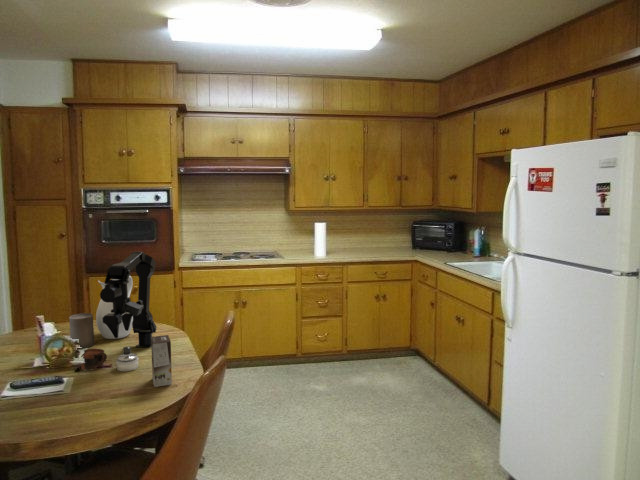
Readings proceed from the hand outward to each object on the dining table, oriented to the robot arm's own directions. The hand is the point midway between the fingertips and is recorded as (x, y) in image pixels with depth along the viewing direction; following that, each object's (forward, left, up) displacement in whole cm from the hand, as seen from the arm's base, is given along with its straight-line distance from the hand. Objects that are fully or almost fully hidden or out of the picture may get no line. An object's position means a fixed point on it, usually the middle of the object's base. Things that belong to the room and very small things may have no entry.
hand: (121, 334), depth 198 cm
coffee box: (+17, +23, -12) cm, 31 cm away
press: (+4, +4, -12) cm, 13 cm away
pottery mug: (+5, -9, -12) cm, 16 cm away
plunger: (+5, +4, -8) cm, 10 cm away
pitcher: (-38, -21, -12) cm, 45 cm away
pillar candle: (-19, -29, -12) cm, 37 cm away
